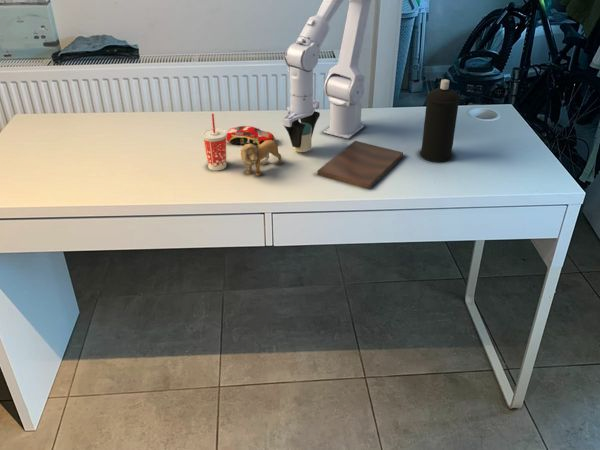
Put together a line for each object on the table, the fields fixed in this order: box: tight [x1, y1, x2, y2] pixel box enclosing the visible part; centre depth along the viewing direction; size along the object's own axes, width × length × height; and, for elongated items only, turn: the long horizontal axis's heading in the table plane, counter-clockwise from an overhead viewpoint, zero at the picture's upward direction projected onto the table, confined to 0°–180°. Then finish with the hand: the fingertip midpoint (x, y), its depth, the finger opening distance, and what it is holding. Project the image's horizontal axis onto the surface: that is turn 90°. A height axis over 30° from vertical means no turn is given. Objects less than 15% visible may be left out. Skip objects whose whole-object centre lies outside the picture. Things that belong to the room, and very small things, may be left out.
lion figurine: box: [240, 140, 282, 177], centre depth 151 cm, size 15×5×9 cm, turn 150°
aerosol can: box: [419, 78, 461, 163], centre depth 154 cm, size 8×8×20 cm
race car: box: [226, 125, 276, 146], centre depth 166 cm, size 13×5×4 cm, turn 76°
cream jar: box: [291, 122, 312, 153], centre depth 160 cm, size 5×5×6 cm
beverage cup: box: [201, 113, 228, 171], centre depth 151 cm, size 6×6×14 cm
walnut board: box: [317, 140, 404, 190], centre depth 155 cm, size 20×14×1 cm
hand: (301, 142), depth 160 cm, fingers closed on cream jar, 5 cm apart
